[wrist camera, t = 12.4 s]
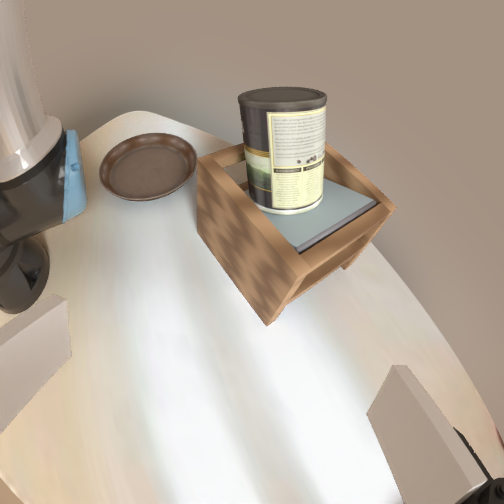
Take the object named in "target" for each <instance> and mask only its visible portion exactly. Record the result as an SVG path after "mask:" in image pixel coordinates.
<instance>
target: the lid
mask: <svg viewBox="0 0 504 504" xmlns="http://www.w3.org/2000/svg"><path fill="white" fill-rule="evenodd" d="M244 192H245V194H246V195H247V196H248V197H249V190H246V191H244ZM375 206H376V201H375V200H373V199H371V198H369V197H366V196H364V195H362V194H360V193H358V192H355V191H353V190H351V189H348V188H346V187H344V186H342V185H339V184H337V183H334V182H332V181H330V180H327V179H325V178H323V199H322V201H321V202H320V204H319V205H318V206H316V207H315V208H313V209H311V210H309V211H307V212H304V213H299V214H292V215H279V214H272V213H268V212H265V211H262V210H261V211H262V213H263V214H264V215H265V216H266V217H267V218H268V219H269V220H270V222H271V223H272V224H273V225H274V226H275V227H276V228H277V229H278V231H279V232H280V233H281V234H282V235H283V236H284V237H285V239H286V240H287V241H288V242H289V243H290V244H291V246H292V247H293V248H294V249H295V250H296V251H297V252H298V254H299V255H300V254H301V253H303V252H305V251H306V250H308V249H309V248H311V247H313V246H314V245H316V244H317V243H319V242H321V241H322V240H324V239H325V238H327V237H328V236H330V235H332V234H333V233H335V232H336V231H338V230H339V229H341V228H343V227H344V226H346V225H347V224H349V223H350V222H352V221H353V220H355V219H357V218H358V217H360V216H361V215H363V214H364V213H366V212H367V211H369V210H370V209H372V208H373V207H375Z"/></svg>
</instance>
